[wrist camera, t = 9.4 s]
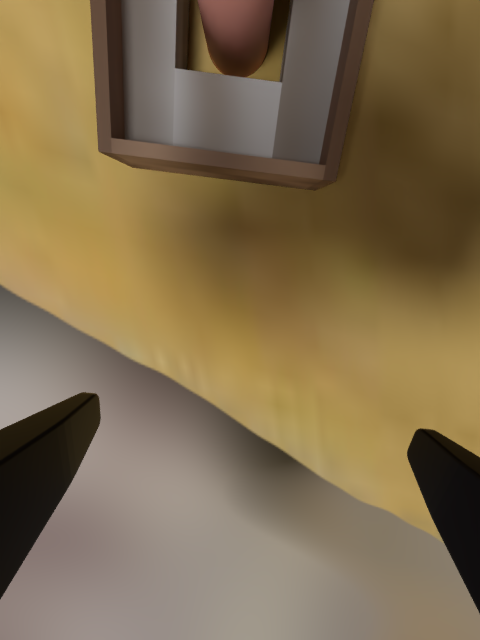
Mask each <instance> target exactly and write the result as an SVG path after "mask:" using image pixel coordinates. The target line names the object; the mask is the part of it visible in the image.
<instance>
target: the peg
mask: <svg viewBox="0 0 480 640" xmlns="http://www.w3.org/2000/svg"><path fill="white" fill-rule="evenodd" d="M198 5H199V10H200V14H201V19H202V24H203V28H204V33H205V38H206V42H207V47H208V52H209V55H210V57H211V60H212V62H213V63H214V65H215V66H216V68H217V69H218V70H219V71H220V72H222V73H223V74H224V75H229V76H236V77H247V76H249V75H251V74H252V73H254V72H255V71H256V70H257V69H258V68H259V67H260V65H261V64H262V62H263V60H264V58H265V56H266V53H267V49H268V43H269V35H270V27H271V20H272V12H273V5H274V0H198Z"/></svg>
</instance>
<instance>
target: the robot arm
mask: <svg viewBox="0 0 480 640" xmlns="http://www.w3.org/2000/svg"><path fill="white" fill-rule="evenodd" d="M100 418H101V417H100V403H99V397H98V395H97V394H95V393H86V392H83V393H79V394H77V395H75V396H73V397H70V398H68V399H66V400H64V401H62V402H60V403H57V404H55V405H53V406H51V407H49V408H47V409H45V410H43V411H40V412H38V413H36V414H33V415H31V416H29V417H27V418H25V419H23V420H20V421H18V422H16V423H14V424H12V425H9V426H7V427H5V428H3V429H1V430H0V599H1V597H2V596H3V594H4V592H5V591H6V589H7V587H8V586H9V584H10V583H11V581H12V579H13V578H14V576H15V574H16V573H17V571H18V570H19V568H20V566H21V565H22V563H23V561H24V560H25V558H26V556H27V555H28V553H29V551H30V550H31V548H32V547H33V545H34V543H35V542H36V540H37V538H38V537H39V535H40V533H41V532H42V530H43V528H44V527H45V525H46V524H47V522H48V520H49V518H50V517H51V515H52V514H53V512H54V510H55V509H56V507H57V505H58V504H59V502H60V501H61V499H62V497H63V496H64V494H65V492H66V491H67V489H68V487H69V485H70V484H71V482H72V480H73V478H74V476H75V474H76V472H77V470H78V468H79V466H80V464H81V462H82V460H83V458H84V456H85V454H86V452H87V450H88V447H89V446H90V444H91V441H92V439H93V437H94V435H95V433H96V431H97V429H98V427H99V424H100ZM407 456H408V460H409V463H410V465H411V468H412V470H413V473H414V475H415V478H416V480H417V483H418V485H419V488H420V490H421V493H422V495H423V498H424V500H425V503H426V505H427V508H428V510H429V512H430V515H431V517H432V519H433V521H434V523H435V525H436V527H437V529H438V531H439V533H440V535H441V537H442V539H443V541H444V543H445V545H446V547H447V549H448V551H449V553H450V555H451V557H452V559H453V561H454V563H455V565H456V567H457V569H458V571H459V573H460V575H461V577H462V579H463V581H464V583H465V585H466V587H467V589H468V591H469V593H470V595H471V597H472V599H473V601H474V603H475V605H476V607H477V609H478V611H479V613H480V457H478V456H477V455H475V454H473V453H472V452H470V451H468V450H467V449H465V448H463V447H462V446H460V445H458V444H457V443H455V442H453V441H452V440H450V439H448V438H447V437H445V436H443V435H442V434H440V433H438V432H437V431H435V430H431V429H418V430H416V432H415V434H414V436H413V438H412V441H411V443H410V445H409V448H408V451H407Z"/></svg>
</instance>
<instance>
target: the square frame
mask: <svg viewBox="0 0 480 640" xmlns="http://www.w3.org/2000/svg"><path fill="white" fill-rule="evenodd" d="M373 3H374V0H290V6H289V14H288V21H287V29H286V36H285V44H284V51H283V59H282V66H281V74H280V81H279V82H274V81H266V80H259V79H251V78H244V77H236V76H229V75H221V74H214V73H206V72H199V71H192V70H187V53H188V26H189V0H90V6H91V24H92V42H93V60H94V78H95V96H96V114H97V132H98V150H99V152H101V153H103V154H105V155H107V156H109V157H111V158H113V159H116V160H118V161H120V162H122V163H124V164H126V165H128V166H130V167H133V168H140V169H148V170H156V171H164V172H172V173H180V174H188V175H196V176H204V177H212V178H220V179H228V180H236V181H244V182H252V183H260V184H268V185H276V186H284V187H292V188H300V189H308V190H317V189H320V188H322V187H324V186H326V185H329V184H331V183H333V182H336V178H337V173H338V168H339V163H340V159H341V154H342V149H343V144H344V140H345V135H346V130H347V126H348V121H349V116H350V111H351V107H352V102H353V97H354V93H355V88H356V83H357V78H358V74H359V69H360V64H361V59H362V55H363V50H364V45H365V41H366V36H367V31H368V26H369V22H370V17H371V12H372V8H373Z"/></svg>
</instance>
